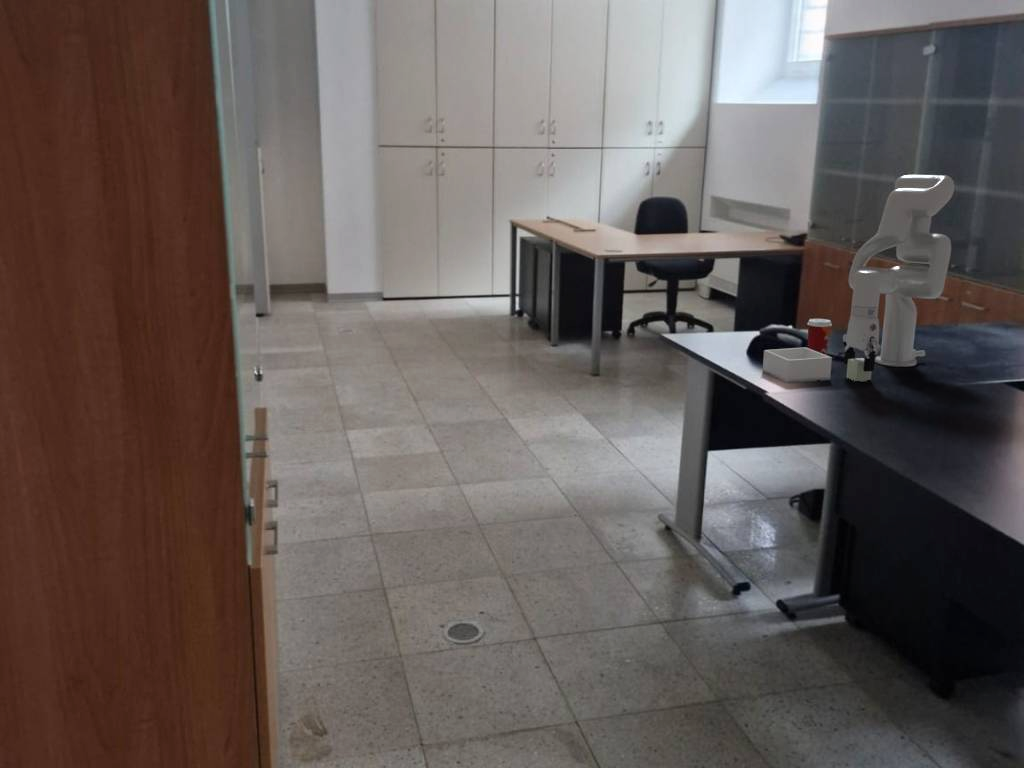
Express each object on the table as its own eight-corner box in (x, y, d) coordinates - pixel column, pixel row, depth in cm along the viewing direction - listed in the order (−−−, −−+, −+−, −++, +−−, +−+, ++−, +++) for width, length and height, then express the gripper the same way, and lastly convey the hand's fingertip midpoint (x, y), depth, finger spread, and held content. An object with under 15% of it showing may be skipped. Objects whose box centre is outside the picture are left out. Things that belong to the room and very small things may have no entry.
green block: (860, 376, 278) (862, 357, 276) (870, 380, 273) (872, 361, 271) (846, 377, 276) (848, 359, 275) (856, 381, 272) (857, 362, 270)
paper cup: (830, 365, 292) (833, 323, 288) (805, 364, 293) (808, 322, 290) (827, 359, 299) (830, 318, 295) (803, 359, 301) (806, 317, 297)
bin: (803, 368, 288) (805, 347, 286) (830, 379, 274) (831, 357, 272) (762, 371, 285) (764, 350, 283) (786, 383, 271) (788, 360, 269)
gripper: (893, 316, 262) (887, 373, 266) (858, 307, 278) (852, 361, 282) (871, 316, 260) (865, 374, 264) (836, 307, 276) (831, 362, 280)
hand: (858, 367), depth 273 cm, fingers open, 9 cm apart
